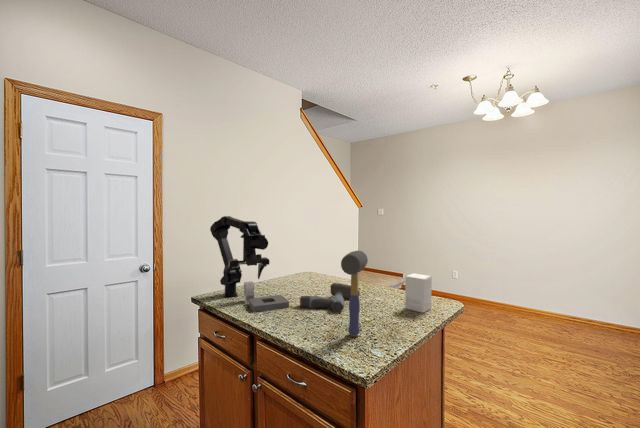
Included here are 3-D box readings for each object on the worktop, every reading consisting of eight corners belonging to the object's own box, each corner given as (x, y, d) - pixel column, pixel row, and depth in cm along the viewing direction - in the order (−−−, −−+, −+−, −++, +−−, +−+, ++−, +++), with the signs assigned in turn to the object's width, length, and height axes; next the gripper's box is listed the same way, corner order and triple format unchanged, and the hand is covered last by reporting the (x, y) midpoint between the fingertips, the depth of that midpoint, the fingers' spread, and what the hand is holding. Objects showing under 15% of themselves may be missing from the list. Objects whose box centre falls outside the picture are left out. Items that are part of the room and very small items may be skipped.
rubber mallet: (348, 327, 111) (349, 248, 110) (368, 330, 108) (369, 250, 107) (338, 340, 99) (339, 253, 99) (359, 344, 96) (360, 254, 96)
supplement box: (431, 308, 133) (432, 275, 133) (423, 313, 126) (424, 279, 126) (413, 303, 139) (413, 272, 139) (404, 308, 132) (404, 275, 132)
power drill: (304, 298, 147) (344, 300, 144) (298, 311, 128) (343, 314, 126) (305, 288, 146) (344, 289, 144) (298, 299, 128) (343, 301, 126)
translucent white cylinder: (244, 300, 141) (244, 282, 141) (252, 299, 143) (252, 281, 143) (245, 303, 138) (245, 284, 138) (254, 301, 139) (254, 283, 139)
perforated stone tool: (360, 298, 147) (361, 284, 147) (358, 301, 142) (358, 287, 142) (333, 294, 153) (333, 281, 153) (329, 297, 148) (329, 283, 148)
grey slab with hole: (248, 303, 136) (248, 298, 136) (281, 299, 143) (281, 294, 143) (253, 312, 125) (253, 306, 125) (289, 307, 132) (289, 301, 132)
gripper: (231, 250, 129) (231, 285, 129) (272, 249, 137) (272, 282, 137) (228, 247, 139) (228, 280, 139) (266, 246, 147) (266, 276, 147)
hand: (249, 279), depth 140 cm, fingers open, 9 cm apart
